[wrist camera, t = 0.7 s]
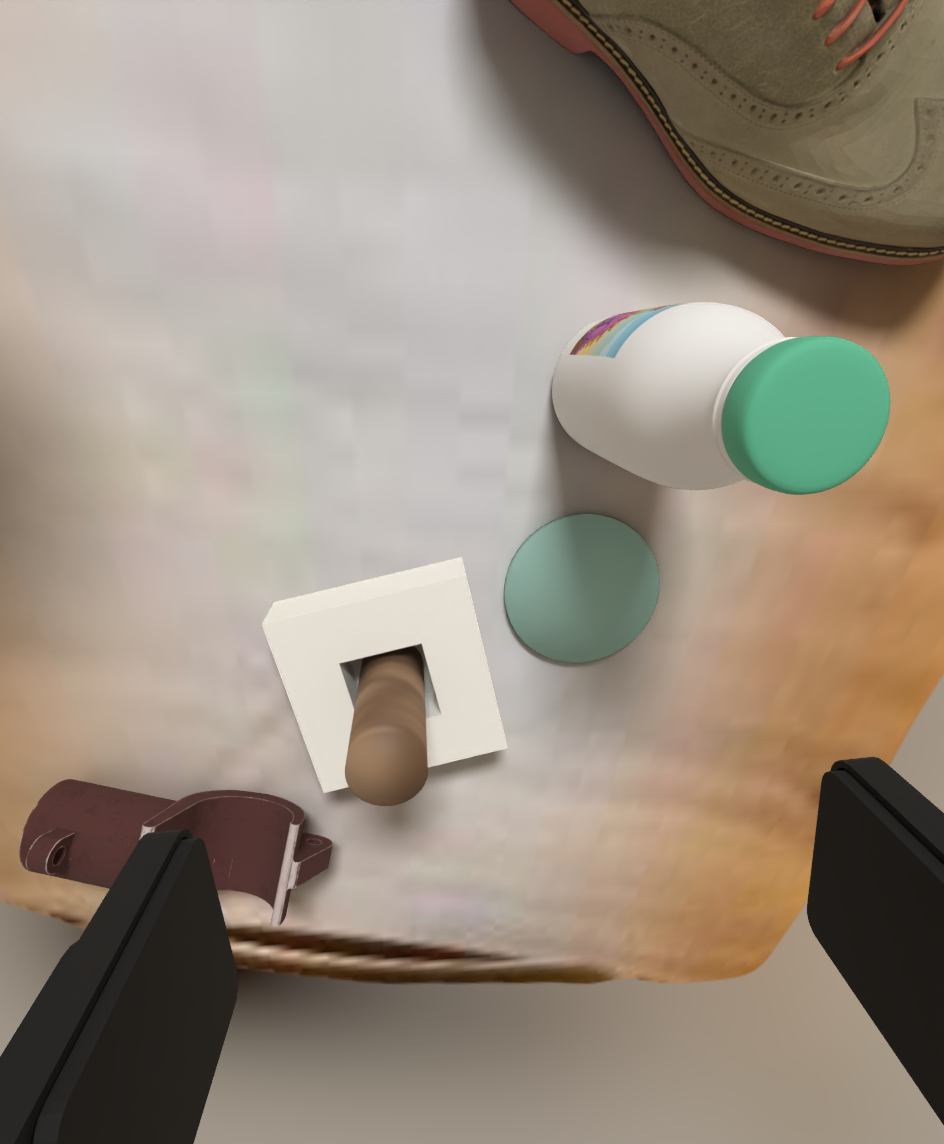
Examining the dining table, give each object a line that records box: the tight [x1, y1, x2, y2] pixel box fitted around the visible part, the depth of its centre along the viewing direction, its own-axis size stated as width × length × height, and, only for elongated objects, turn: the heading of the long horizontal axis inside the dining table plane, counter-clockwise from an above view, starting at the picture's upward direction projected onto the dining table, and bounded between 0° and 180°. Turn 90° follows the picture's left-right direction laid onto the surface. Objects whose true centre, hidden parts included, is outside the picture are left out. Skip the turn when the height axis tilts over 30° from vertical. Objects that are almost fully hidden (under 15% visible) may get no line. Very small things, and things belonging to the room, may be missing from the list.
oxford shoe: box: [510, 0, 944, 265], centre depth 27 cm, size 11×32×12 cm, turn 63°
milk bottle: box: [552, 302, 890, 495], centre depth 28 cm, size 8×8×20 cm
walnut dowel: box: [345, 646, 428, 806], centre depth 36 cm, size 4×4×11 cm
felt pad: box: [504, 513, 660, 663], centre depth 41 cm, size 10×10×1 cm
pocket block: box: [262, 557, 508, 793], centre depth 40 cm, size 12×12×4 cm
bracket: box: [19, 779, 332, 927], centre depth 40 cm, size 6×17×10 cm, turn 82°
